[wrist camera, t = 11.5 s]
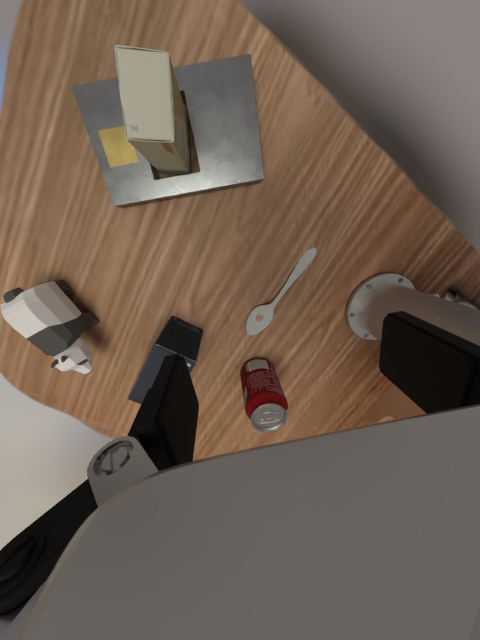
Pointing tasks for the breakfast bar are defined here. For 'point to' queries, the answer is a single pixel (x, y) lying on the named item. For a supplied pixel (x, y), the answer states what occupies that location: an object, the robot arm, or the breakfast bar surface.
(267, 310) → the spoon
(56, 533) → the robot arm
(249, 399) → the soda can
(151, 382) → the small box
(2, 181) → the breakfast bar surface
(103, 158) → the grey slotted base block
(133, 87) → the skincare box
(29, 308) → the giant panda
